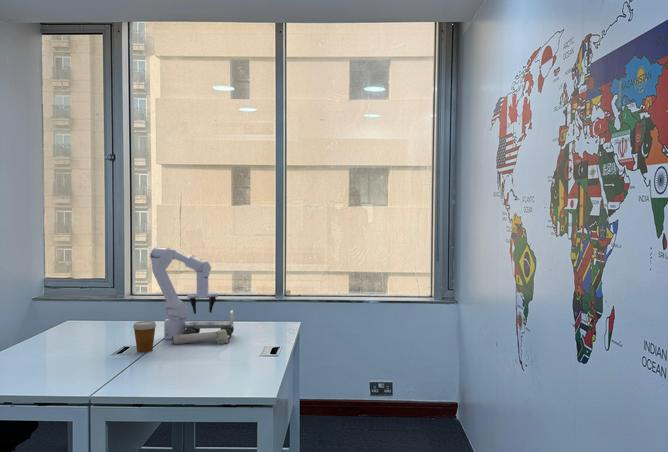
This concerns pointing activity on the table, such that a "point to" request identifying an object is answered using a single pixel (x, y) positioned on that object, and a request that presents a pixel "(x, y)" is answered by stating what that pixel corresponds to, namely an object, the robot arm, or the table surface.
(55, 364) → the table surface
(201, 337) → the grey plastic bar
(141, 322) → the disposable coffee cup
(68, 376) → the table surface
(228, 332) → the trolley
